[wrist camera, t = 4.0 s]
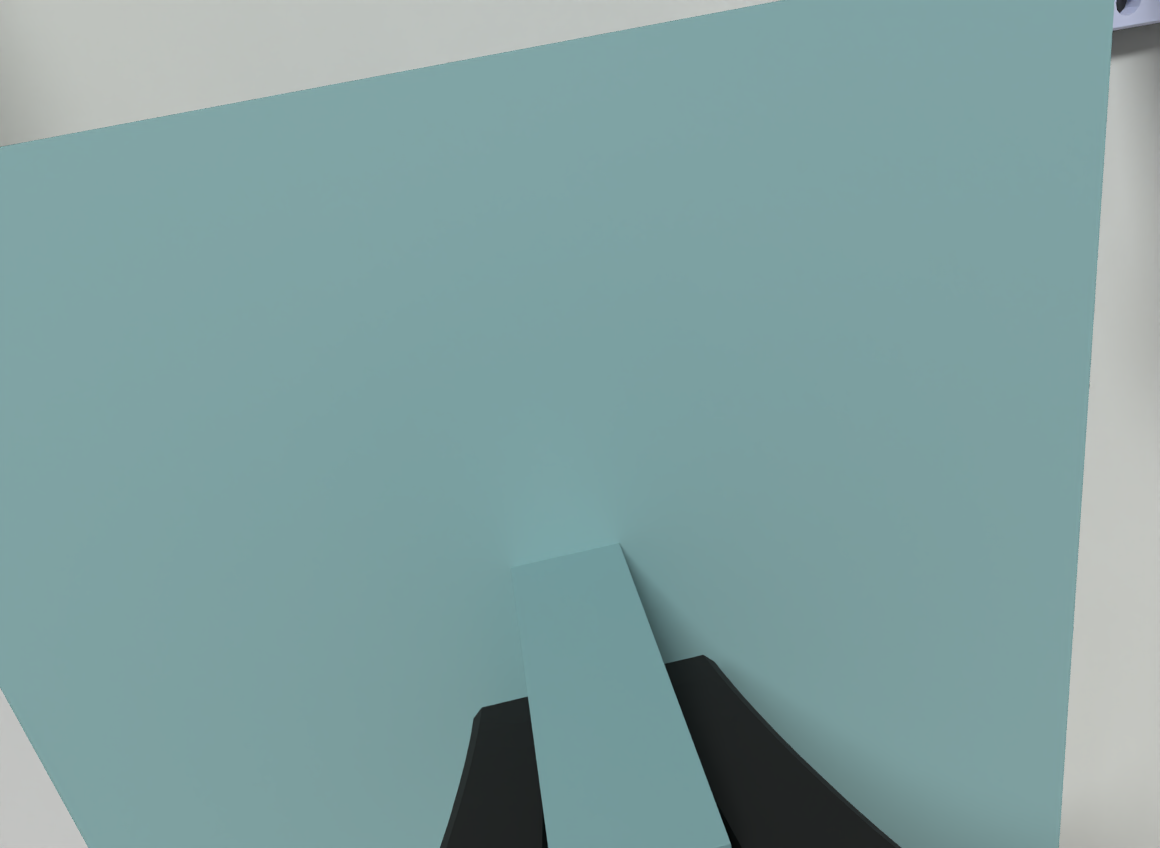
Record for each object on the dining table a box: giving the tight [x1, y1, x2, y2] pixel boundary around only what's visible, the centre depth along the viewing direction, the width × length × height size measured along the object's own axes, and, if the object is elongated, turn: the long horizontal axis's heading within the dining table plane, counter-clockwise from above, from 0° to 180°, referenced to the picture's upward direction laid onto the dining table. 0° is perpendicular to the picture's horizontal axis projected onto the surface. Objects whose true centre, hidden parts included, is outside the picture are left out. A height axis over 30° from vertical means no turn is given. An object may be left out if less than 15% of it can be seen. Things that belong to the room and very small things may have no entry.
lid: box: [0, 0, 1114, 848], centre depth 9 cm, size 12×14×6 cm
